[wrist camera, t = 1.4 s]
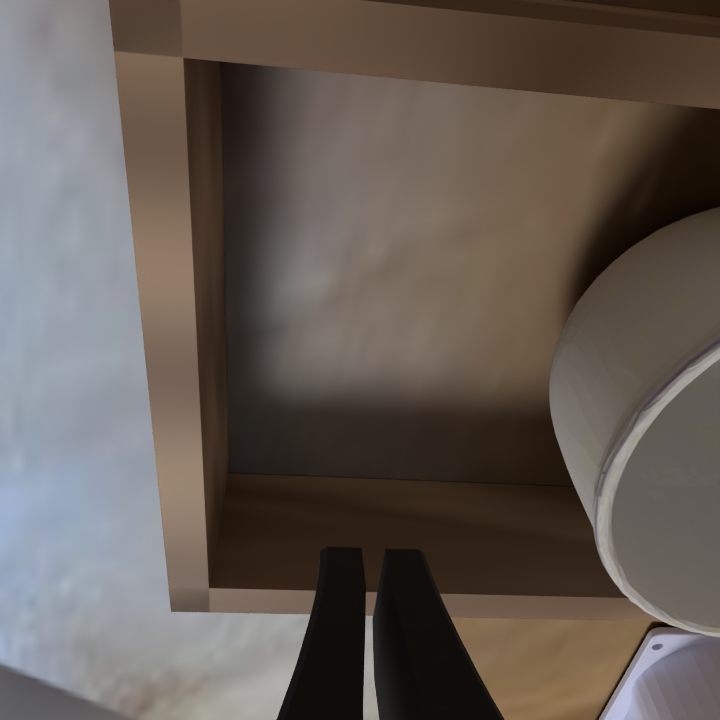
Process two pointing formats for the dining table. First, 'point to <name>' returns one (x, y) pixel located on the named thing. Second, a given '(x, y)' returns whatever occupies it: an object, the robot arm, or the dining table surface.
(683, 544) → the teacup
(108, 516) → the dining table surface
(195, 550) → the open wooden tray
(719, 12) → the dining table surface
